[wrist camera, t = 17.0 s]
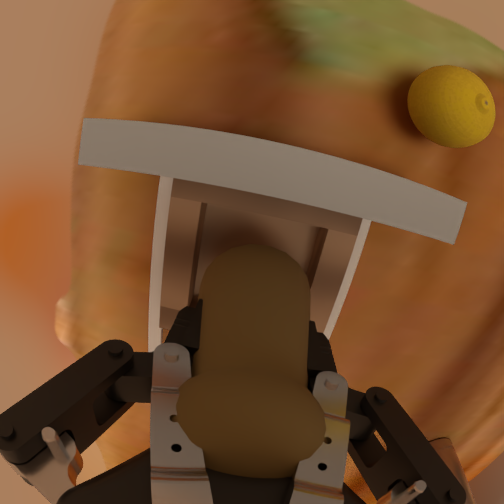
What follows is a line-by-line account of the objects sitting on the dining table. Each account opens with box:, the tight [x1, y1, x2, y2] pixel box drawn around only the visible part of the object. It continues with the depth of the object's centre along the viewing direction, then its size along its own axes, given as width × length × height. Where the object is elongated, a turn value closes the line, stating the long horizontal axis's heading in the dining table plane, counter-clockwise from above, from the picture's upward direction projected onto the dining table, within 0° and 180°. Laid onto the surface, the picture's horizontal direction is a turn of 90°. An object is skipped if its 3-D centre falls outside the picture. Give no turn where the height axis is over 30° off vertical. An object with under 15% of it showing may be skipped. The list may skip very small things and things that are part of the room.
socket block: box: [159, 178, 363, 333], centre depth 21 cm, size 12×12×3 cm
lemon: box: [407, 65, 495, 148], centre depth 14 cm, size 6×6×8 cm
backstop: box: [78, 118, 467, 352], centre depth 20 cm, size 21×20×8 cm
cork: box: [171, 244, 328, 478], centre depth 11 cm, size 6×6×11 cm
